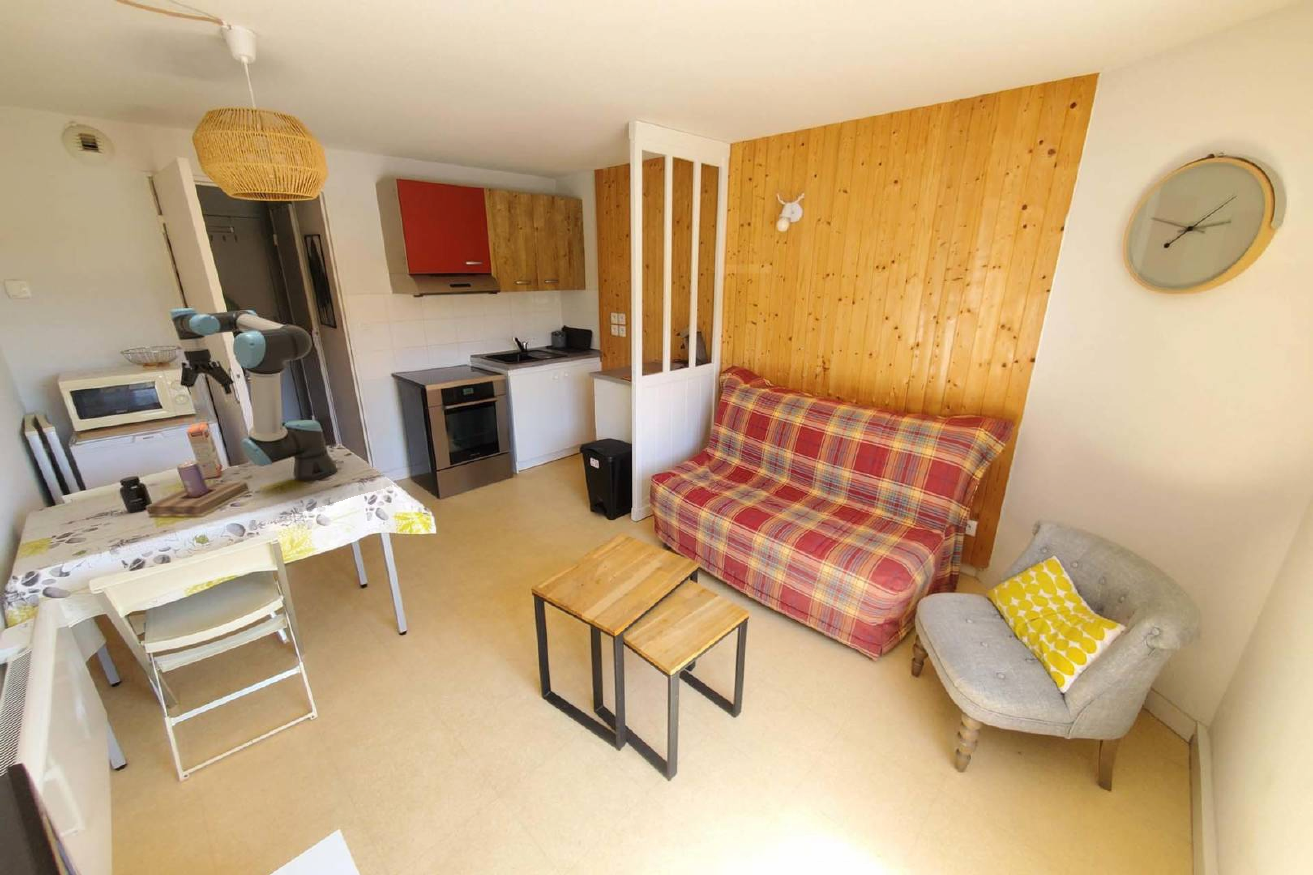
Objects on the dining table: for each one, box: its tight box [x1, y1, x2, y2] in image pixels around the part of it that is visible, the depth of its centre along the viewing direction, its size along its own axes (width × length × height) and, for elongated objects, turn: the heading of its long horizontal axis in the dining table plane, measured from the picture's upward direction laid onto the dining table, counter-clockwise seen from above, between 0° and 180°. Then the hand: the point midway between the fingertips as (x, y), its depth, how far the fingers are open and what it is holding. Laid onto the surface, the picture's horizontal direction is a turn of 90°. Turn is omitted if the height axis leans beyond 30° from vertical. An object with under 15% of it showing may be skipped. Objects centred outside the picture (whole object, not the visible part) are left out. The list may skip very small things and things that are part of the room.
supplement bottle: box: [119, 475, 153, 513], centre depth 182 cm, size 7×7×12 cm
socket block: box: [145, 481, 250, 518], centre depth 186 cm, size 20×20×4 cm
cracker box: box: [186, 422, 223, 479], centre depth 212 cm, size 14×6×21 cm, turn 36°
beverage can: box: [176, 460, 209, 498], centre depth 184 cm, size 6×6×15 cm
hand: (213, 402), depth 202 cm, fingers open, 13 cm apart
